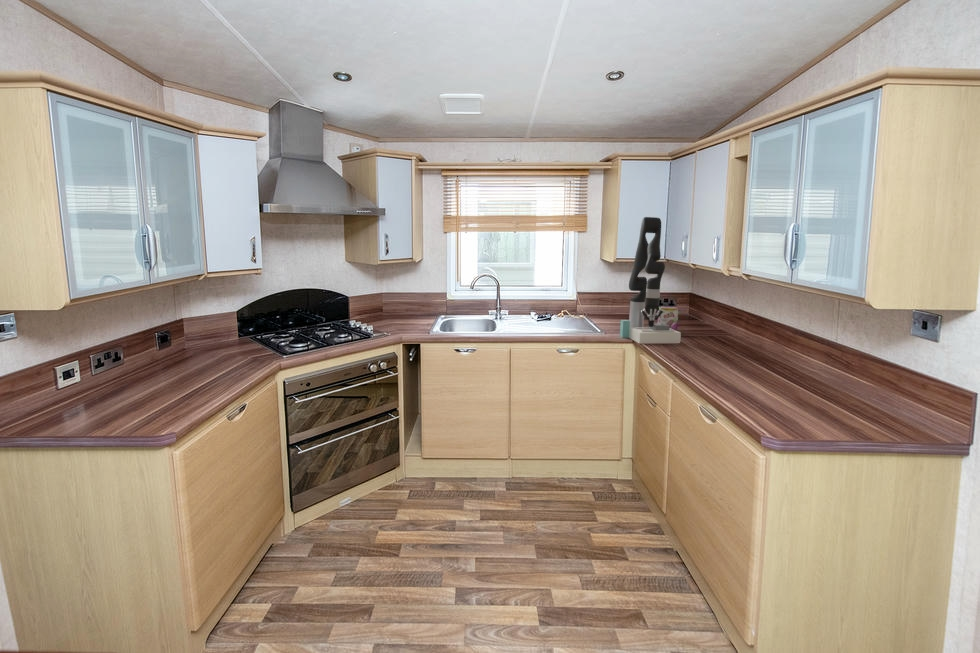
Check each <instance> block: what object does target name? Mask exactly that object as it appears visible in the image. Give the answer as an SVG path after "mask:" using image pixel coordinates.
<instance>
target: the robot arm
mask: <svg viewBox="0 0 980 653" xmlns="http://www.w3.org/2000/svg"><path fill="white" fill-rule="evenodd" d="M639 230H640V231H639V238H638V243H637V247H636V250H635V256H634V263H633V267H632V271H631V275H630V278H629V282H628V289H629V290H630V291H631V292H632V291H633V292H639V293H637V294H635V295H632V296H630V299H629V301H630V304H629V315H628V316H629V318H628V320H629V321H630V327H629V328H635V327H644V324H645V320H647V327H653V325H654V323H655V321H656V320H658V318H659V316H660V315H661V314H662V313H663V311H661V310H660V308H659V307H660V297H661V281H662V278H663V275H664V272H665V270H666V265H665V263H664V262H663V261H660V259H661V256H662V255H661V238H662V237H661V236H662V221H661V218H660V217H651V216H645V217H643V218H642V221H641V223H640V229H639ZM646 234H654V236H653V238H652V239H651V240H650V242H648V240H647V237H646ZM643 270H644V271H645V273H646V274H648V275H655V277H650V278H647V277H646V276H639V274H640V273H641V271H643Z"/></svg>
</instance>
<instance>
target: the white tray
mask: <svg viewBox="0 0 980 653" xmlns="http://www.w3.org/2000/svg"><path fill="white" fill-rule="evenodd" d="M681 337H682V332H680V331H678V330H677V331H675V330H674V329H671V328H670V329H669V330H653V329H650V327H649V326H643V327H635V328H630V327H629V338H628V339H631V340H632V341H633V342H635V343H638V344H640V345H641V344H680V343H681Z"/></svg>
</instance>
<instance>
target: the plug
mask: <svg viewBox="0 0 980 653" xmlns="http://www.w3.org/2000/svg"><path fill="white" fill-rule="evenodd" d="M629 328H630V321H629V319H620V328H619V337H620V338H622V339H630V338H629Z"/></svg>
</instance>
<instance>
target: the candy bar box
mask: <svg viewBox="0 0 980 653" xmlns="http://www.w3.org/2000/svg"><path fill="white" fill-rule="evenodd" d="M659 308H660V310H661V311H663V313H662V314H661V315H660V316H659V318H658V319H657V322H659V323H664V324H667V325H669V326H670V328H671V329H674V330H675V331H678V323H679V311H680V308H679V307H677V306H659Z"/></svg>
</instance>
